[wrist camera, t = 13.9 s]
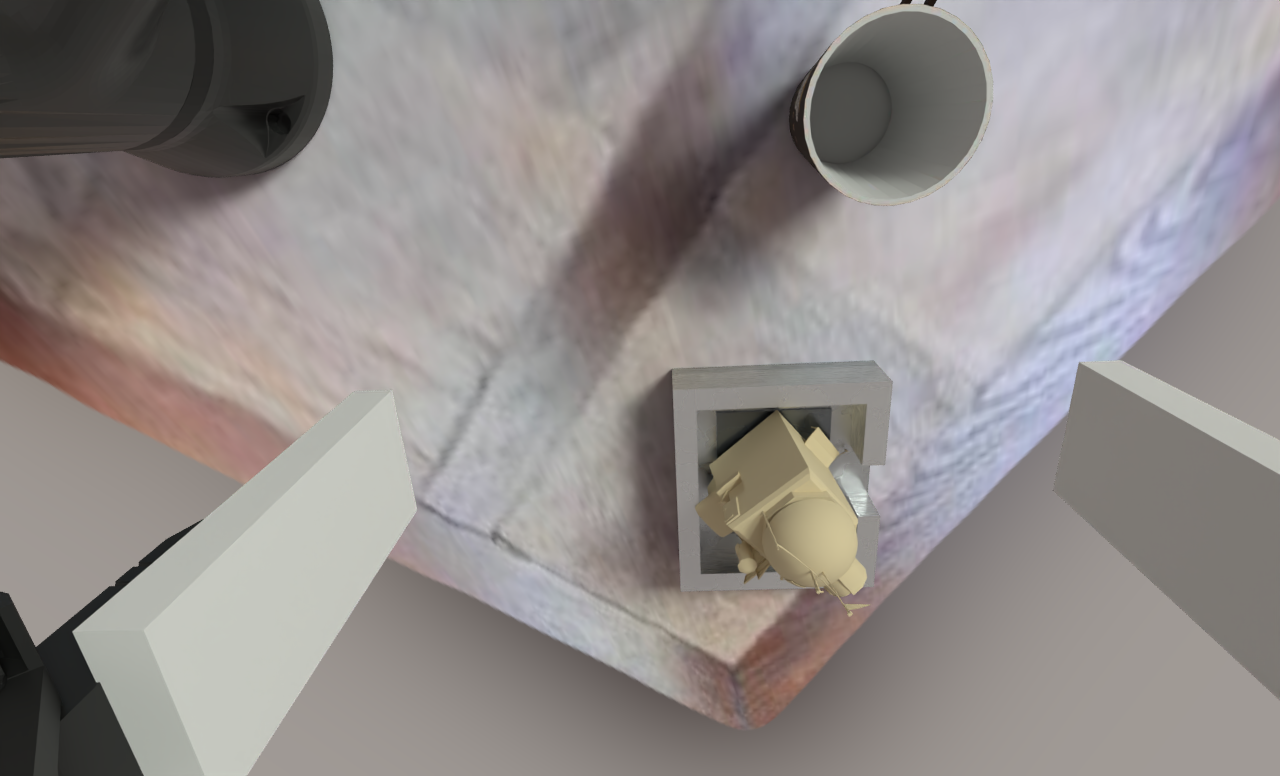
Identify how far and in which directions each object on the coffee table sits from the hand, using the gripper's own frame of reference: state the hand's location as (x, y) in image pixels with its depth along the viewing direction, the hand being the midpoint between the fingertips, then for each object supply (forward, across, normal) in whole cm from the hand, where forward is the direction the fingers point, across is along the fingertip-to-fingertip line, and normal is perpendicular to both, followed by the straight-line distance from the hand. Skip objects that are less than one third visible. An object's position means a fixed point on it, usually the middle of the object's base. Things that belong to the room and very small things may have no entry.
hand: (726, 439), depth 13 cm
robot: (+30, +6, -18) cm, 36 cm away
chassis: (+32, +6, -18) cm, 37 cm away
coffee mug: (+32, +11, +7) cm, 34 cm away
